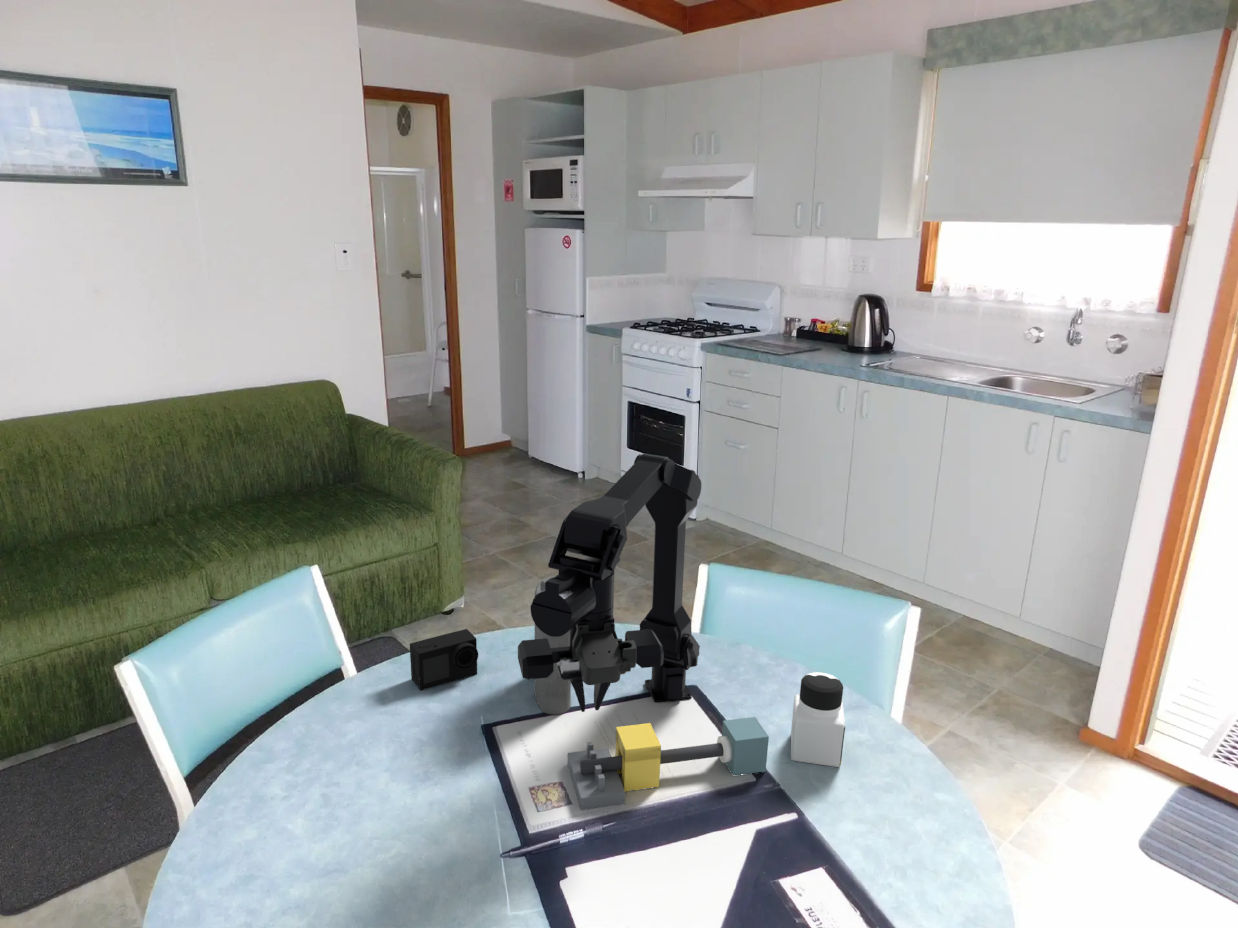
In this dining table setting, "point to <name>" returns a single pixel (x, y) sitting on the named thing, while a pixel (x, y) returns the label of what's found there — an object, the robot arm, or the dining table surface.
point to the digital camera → (443, 659)
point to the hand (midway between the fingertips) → (589, 709)
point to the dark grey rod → (711, 750)
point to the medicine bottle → (818, 721)
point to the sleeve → (638, 756)
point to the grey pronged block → (595, 780)
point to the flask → (552, 675)
